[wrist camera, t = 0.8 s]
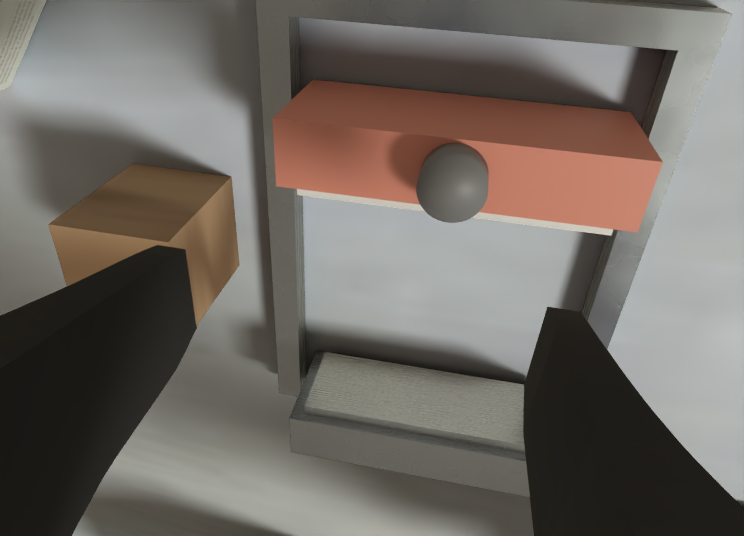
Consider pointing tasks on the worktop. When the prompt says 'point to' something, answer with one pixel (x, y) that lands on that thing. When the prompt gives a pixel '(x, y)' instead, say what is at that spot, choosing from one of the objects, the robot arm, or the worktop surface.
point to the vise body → (432, 387)
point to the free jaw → (467, 156)
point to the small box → (16, 34)
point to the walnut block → (154, 226)
